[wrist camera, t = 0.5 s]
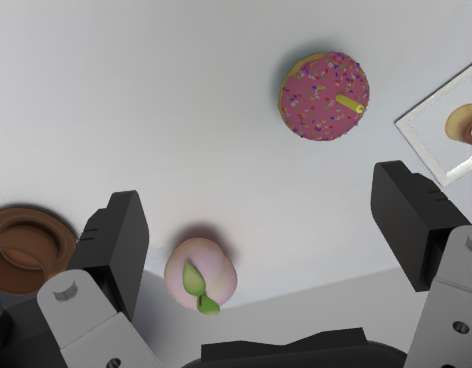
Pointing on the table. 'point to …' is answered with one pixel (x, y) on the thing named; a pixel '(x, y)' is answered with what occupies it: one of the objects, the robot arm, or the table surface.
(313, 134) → the cupcake
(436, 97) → the dessert
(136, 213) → the robot arm
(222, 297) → the decorative fruit
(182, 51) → the table surface
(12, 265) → the brown hat
